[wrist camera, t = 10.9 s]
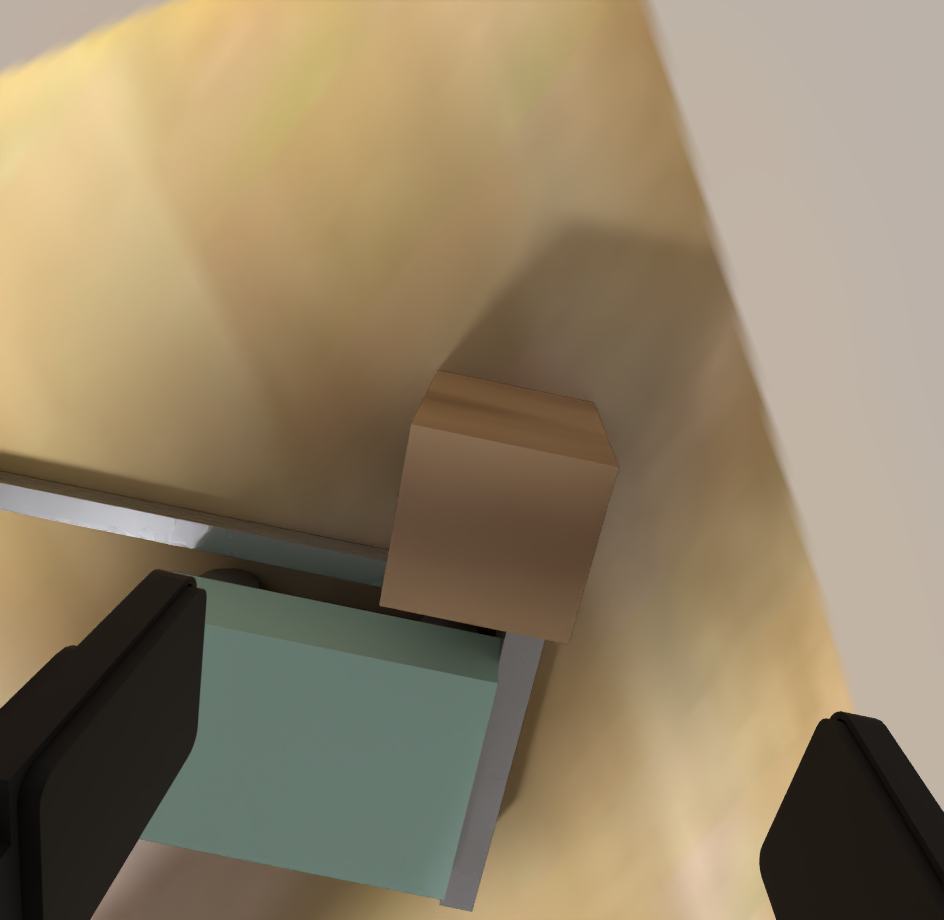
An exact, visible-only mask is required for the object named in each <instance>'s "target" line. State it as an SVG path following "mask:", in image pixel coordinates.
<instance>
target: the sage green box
mask: <svg viewBox="0 0 944 920" xmlns="http://www.w3.org/2000/svg"><path fill="white" fill-rule="evenodd" d="M171 572H173V571H171ZM173 573H178V572H173ZM178 574H183V573H178ZM183 575H188V574H183ZM188 576H192V577H194V578H195V579H196V583H197V588H202V589H205V590H206V594H207V602H206V616H205V631H204V645H203V659H202V674H201V688H200V703H199V717H198V730H197V736H196V740H195V743H194V746H193V748H192V751H191V753H190V755H189V757H188V758H187V760H186V762H185V763H184V765H183V767H182V768H181V770H180V772H179V773H178V775H177V777H176V778H175V780H174V782H173V783H172V785H171V786H170V788H169V790H168V791H167V793H166V795H165V796H164V798H163V800H162V801H161V803H160V805H159V806H158V808H157V810H156V811H155V813H154V815H153V816H152V818H151V820H150V821H149V823H148V825H147V826H146V828H145V830H144V831H143V833H142V835H141V836H140V838H139V839H141V840H146V841H151V842H156V843H161V844H166V845H171V846H176V847H181V848H186V849H191V850H196V851H201V852H206V853H211V854H216V855H221V856H226V857H231V858H236V859H241V860H246V861H251V862H256V863H261V864H266V865H271V866H276V867H281V868H286V869H291V870H296V871H300V872H305V873H310V874H315V875H320V876H325V877H330V878H335V879H340V880H345V881H350V882H355V883H360V884H365V885H370V886H375V887H380V888H385V889H390V890H395V891H400V892H405V893H410V894H415V895H420V896H425V897H430V898H435V899H440V900H444V899H445V895H446V891H447V887H448V883H449V879H450V875H451V871H452V866H453V862H454V858H455V854H456V850H457V846H458V842H459V838H460V834H461V830H462V826H463V822H464V818H465V814H466V810H467V806H468V802H469V798H470V794H471V790H472V786H473V782H474V778H475V774H476V770H477V766H478V762H479V757H480V753H481V749H482V745H483V741H484V737H485V733H486V729H487V725H488V721H489V717H490V713H491V709H492V705H493V701H494V697H495V693H496V689H497V685H498V669H499V647H500V638H497V637H492V636H488V635H483V634H478V631H477V628H476V627H475V625H471V624H466V623H461V622H456V621H451V620H446V619H442V618H437V617H432V616H427V615H425V616H424V617H423V618H422V619H421V620H420V622H419V621H414V620H409V619H404V618H399V617H394V616H389V615H384V614H379V613H374V612H370V611H365V610H360V609H355V608H350V607H345V606H340V605H335V604H330V603H325V602H320V601H315V600H311V599H306V598H301V597H296V596H291V595H286V594H281V593H276V592H271V591H266V590H261V589H259V581H258V579H257V578H256V577H255V576H254V575H252V574H251V573H249V572H246V571H243V570H239V569H232V568H223V569H216V570H212V571H209V572H206V573H204V574H203V575H201V576H200V577H197V576H193V575H188Z"/></svg>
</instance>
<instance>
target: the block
mask: <svg viewBox="0 0 944 920" xmlns="http://www.w3.org/2000/svg"><path fill="white" fill-rule="evenodd" d="M618 469H619V466H618V463H617V461H616V458H615V456H614V453H613V450H612V448H611V445H610V443H609V440H608V437H607V435H606V432H605V430H604V427H603V425H602V422H601V419H600V417H599V414H598V412H597V409H596V406H595V404H594V403H593V402H589V401H584V400H579V399H574V398H569V397H565V396H560V395H555V394H550V393H545V392H541V391H536V390H531V389H526V388H521V387H517V386H512V385H507V384H502V383H497V382H493V381H488V380H483V379H478V378H473V377H469V376H464V375H459V374H454V373H449V372H445V371H440V370H438V371H437V373H436V375H435V377H434V379H433V381H432V383H431V385H430V387H429V389H428V391H427V393H426V395H425V397H424V399H423V401H422V403H421V405H420V407H419V409H418V411H417V413H416V415H415V417H414V419H413V421H412V423H411V427H410V433H409V439H408V444H407V450H406V456H405V461H404V467H403V473H402V478H401V484H400V490H399V495H398V501H397V507H396V513H395V518H394V524H393V530H392V535H391V541H390V547H389V552H388V558H387V564H386V569H385V575H384V581H383V586H382V592H381V598H380V603H379V606H383V607H388V608H393V609H398V610H403V611H407V612H412V613H417V614H422V615H427V616H432V617H437V618H442V619H446V620H451V621H456V622H461V623H466V624H471V625H476V626H480V627H485V628H490V629H495V630H500V631H505V632H510V633H515V634H519V635H524V636H529V637H534V638H539V639H544V640H549V641H554V642H558V643H563V644H569V641H570V637H571V634H572V630H573V627H574V623H575V620H576V616H577V613H578V609H579V606H580V602H581V599H582V595H583V592H584V588H585V585H586V581H587V578H588V574H589V571H590V567H591V564H592V560H593V557H594V553H595V550H596V546H597V543H598V539H599V536H600V532H601V529H602V525H603V522H604V518H605V515H606V511H607V508H608V504H609V501H610V497H611V494H612V490H613V487H614V483H615V480H616V476H617V473H618Z"/></svg>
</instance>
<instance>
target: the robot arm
mask: <svg viewBox="0 0 944 920" xmlns="http://www.w3.org/2000/svg"><path fill="white" fill-rule="evenodd" d="M206 602H207V594H206V590H205V589H202V588H197V583H196V579H195V578H194V577H192V576H188V575H183V574H178V573H173V572H168V571H164V570H159V569H157V570H154V571H152V572H151V573H150V574H149V575H148V576H147V577H146V578H145V579H144V580H143V581H142V582H141V583H140V584H139V585H138V586H137V587H136V588H135V589H134V590H133V591H132V592H131V593H130V594H129V595H128V596H127V597H126V598H125V599H124V600H123V601H122V602H121V603H120V604H119V605H118V606H117V607H116V608H115V609H114V610H113V611H112V612H111V613H110V614H109V615H108V616H107V617H106V618H105V619H104V620H103V621H102V622H101V623H100V624H99V625H98V626H97V627H96V628H95V629H94V630H93V631H92V632H91V633H90V634H89V635H88V636H87V637H86V638H85V639H84V640H83V641H82V642H81V643H80V644H79V645H78V646H74V645H72V646H68V647H65V648H64V649H62V650H61V651H60V652H58V653H57V654H56V655H55V656H54V657H53V658H52V659H51V660H50V661H49V662H48V663H47V664H46V665H45V666H44V667H43V668H42V669H41V670H40V671H39V672H37V673H36V674H35V675H34V676H33V677H32V678H31V679H30V680H29V681H28V682H27V683H26V684H25V685H24V686H23V687H22V688H21V689H20V690H19V691H18V692H17V693H16V694H15V695H14V696H13V697H12V698H11V699H10V700H9V701H8V702H7V703H6V704H5V705H4V706H3V707H2V708H1V709H0V920H90V919H91V917H92V916H93V914H94V912H95V911H96V909H97V907H98V906H99V904H100V902H101V901H102V899H103V897H104V896H105V894H106V892H107V891H108V889H109V887H110V886H111V884H112V883H113V881H114V879H115V878H116V876H117V874H118V873H119V871H120V869H121V868H122V866H123V864H124V863H125V861H126V859H127V858H128V856H129V854H130V853H131V851H132V849H133V848H134V846H135V844H136V843H137V841H138V839H139V838H140V836H141V835H142V833H143V831H144V830H145V828H146V826H147V825H148V823H149V821H150V820H151V818H152V816H153V815H154V813H155V811H156V810H157V808H158V806H159V805H160V803H161V801H162V800H163V798H164V796H165V795H166V793H167V791H168V790H169V788H170V786H171V785H172V783H173V782H174V780H175V778H176V777H177V775H178V773H179V772H180V770H181V768H182V767H183V765H184V763H185V762H186V760H187V758H188V757H189V755H190V753H191V751H192V748H193V746H194V743H195V740H196V736H197V730H198V717H199V703H200V688H201V674H202V659H203V645H204V631H205V616H206ZM759 865H760V872H761V876H762V879H763V882H764V885H765V888H766V891H767V894H768V897H769V900H770V903H771V906H772V909H773V912H774V914H775V917H776V920H944V812H943V811H942V809H941V808H940V806H939V805H938V803H937V802H936V801H935V799H934V797H933V796H932V794H931V793H930V791H929V790H928V788H927V787H926V785H925V784H924V782H923V781H922V779H921V778H920V776H919V775H918V773H917V772H916V770H915V769H914V767H913V766H912V764H911V763H910V762H909V760H908V758H907V757H906V755H905V754H904V752H903V751H902V749H901V748H900V747H899V745H898V743H897V742H896V740H895V739H894V737H893V736H892V735H891V733H890V731H889V730H888V729H887V727H886V726H885V725H884V724H883V722H882V721H880V720H878V719H875V718H870V717H866V716H861V715H856V714H851V713H846V712H842V711H840V712H836V713H834V714H833V715H832V716H831V717H830V719H827V718H826V719H822V720H821V721H820V722H819V724H818V725H817V727H816V729H815V731H814V734H813V736H812V738H811V740H810V742H809V745H808V747H807V749H806V751H805V753H804V755H803V758H802V760H801V762H800V764H799V766H798V769H797V771H796V773H795V775H794V777H793V779H792V782H791V784H790V786H789V788H788V790H787V793H786V795H785V797H784V799H783V801H782V803H781V806H780V808H779V810H778V812H777V814H776V817H775V819H774V821H773V823H772V825H771V828H770V830H769V832H768V834H767V836H766V838H765V841H764V843H763V845H762V848H761V851H760V859H759Z"/></svg>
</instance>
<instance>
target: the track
mask: <svg viewBox="0 0 944 920" xmlns="http://www.w3.org/2000/svg"><path fill="white" fill-rule="evenodd" d="M0 510H4V511H9V512H14V513H19V514H24V515H28V516H33V517H38V518H43V519H48V520H53V521H58V522H63V523H68V524H73V525H78V526H82V527H87V528H92V529H97V530H102V531H107V532H112V533H117V534H122V535H127V536H132V537H136V538H141V539H146V540H151V541H156V542H161V543H166V544H171V545H176V546H181V547H186V548H191V549H195V550H200V551H205V552H210V553H215V554H220V555H225V556H230V557H235V558H240V559H245V560H249V561H254V562H259V563H264V564H269V565H274V566H279V567H284V568H289V569H294V570H299V571H304V572H308V573H313V574H318V575H323V576H328V577H333V578H338V579H343V580H348V581H353V582H358V583H362V584H367V585H372V586H377V587H382V586H383V581H384V575H385V569H386V564H387V558H388V552H389V550H385V549H380V548H375V547H370V546H365V545H360V544H355V543H350V542H345V541H341V540H336V539H331V538H326V537H321V536H316V535H311V534H306V533H301V532H296V531H291V530H287V529H282V528H277V527H272V526H267V525H262V524H257V523H252V522H247V521H242V520H238V519H233V518H228V517H223V516H218V515H213V514H208V513H203V512H198V511H193V510H188V509H184V508H179V507H174V506H169V505H164V504H159V503H154V502H149V501H144V500H139V499H134V498H130V497H125V496H120V495H115V494H110V493H105V492H100V491H95V490H90V489H85V488H81V487H76V486H71V485H66V484H61V483H56V482H51V481H46V480H41V479H36V478H31V477H27V476H22V475H17V474H12V473H7V472H2V471H0ZM495 637H497V638H500V647H499V669H498V685H497V689H496V693H495V697H494V701H493V705H492V709H491V713H490V717H489V721H488V725H487V729H486V733H485V737H484V741H483V745H482V749H481V753H480V757H479V762H478V766H477V770H476V774H475V778H474V782H473V786H472V790H471V794H470V798H469V802H468V806H467V810H466V814H465V818H464V822H463V826H462V830H461V834H460V838H459V842H458V846H457V850H456V854H455V858H454V862H453V866H452V871H451V875H450V879H449V883H448V887H447V891H446V895H445V899H444V900H440V905H441V906H446V907H451V908H456V909H461V910H466V911H471V912H472V910H473V907H474V903H475V899H476V895H477V892H478V888H479V884H480V880H481V877H482V873H483V869H484V866H485V862H486V858H487V854H488V851H489V847H490V843H491V839H492V836H493V832H494V828H495V824H496V821H497V817H498V813H499V810H500V806H501V802H502V798H503V795H504V791H505V787H506V783H507V780H508V776H509V772H510V768H511V765H512V761H513V757H514V753H515V750H516V746H517V742H518V739H519V735H520V731H521V727H522V724H523V720H524V716H525V712H526V709H527V705H528V701H529V697H530V694H531V690H532V686H533V683H534V679H535V675H536V671H537V668H538V664H539V660H540V656H541V653H542V649H543V645H544V641H545V640H544V639H539V638H534V637H529V636H524V635H519V634H515V633H510V632H505V631H500V630H497V631H496V636H495Z"/></svg>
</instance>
